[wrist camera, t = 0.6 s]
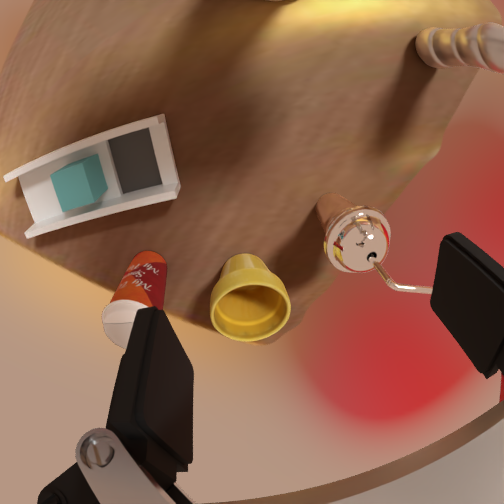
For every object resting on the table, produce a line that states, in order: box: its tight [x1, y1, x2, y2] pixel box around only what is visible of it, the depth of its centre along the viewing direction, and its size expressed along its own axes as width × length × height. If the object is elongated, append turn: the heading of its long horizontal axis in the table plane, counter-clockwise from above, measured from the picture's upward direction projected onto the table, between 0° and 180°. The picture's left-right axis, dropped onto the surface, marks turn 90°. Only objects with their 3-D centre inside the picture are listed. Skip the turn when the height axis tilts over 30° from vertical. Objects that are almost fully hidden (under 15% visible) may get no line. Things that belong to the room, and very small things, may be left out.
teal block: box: [50, 154, 108, 212], centre depth 32 cm, size 5×5×5 cm
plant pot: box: [210, 254, 291, 341], centre depth 41 cm, size 10×10×10 cm
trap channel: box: [3, 114, 181, 239], centre depth 33 cm, size 10×24×4 cm, turn 99°
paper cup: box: [102, 251, 167, 349], centre depth 37 cm, size 8×8×14 cm
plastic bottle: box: [415, 23, 504, 74], centre depth 21 cm, size 6×7×20 cm
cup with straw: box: [316, 193, 433, 294], centre depth 33 cm, size 8×9×20 cm
